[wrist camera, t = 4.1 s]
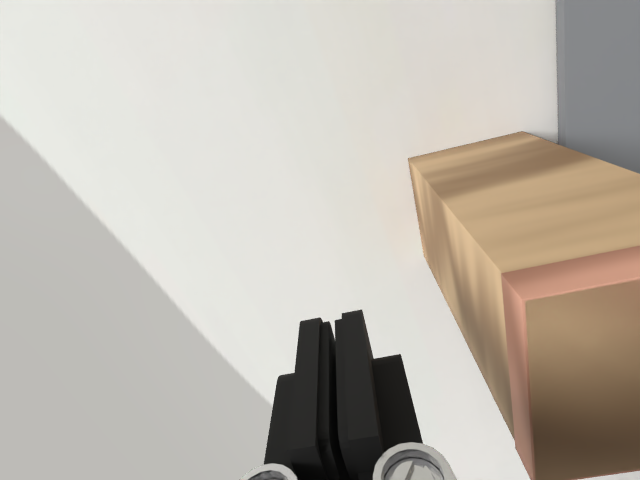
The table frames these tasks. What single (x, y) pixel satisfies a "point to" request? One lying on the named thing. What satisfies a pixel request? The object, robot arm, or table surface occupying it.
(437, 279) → the oak block
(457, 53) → the table surface
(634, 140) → the rubber mat
